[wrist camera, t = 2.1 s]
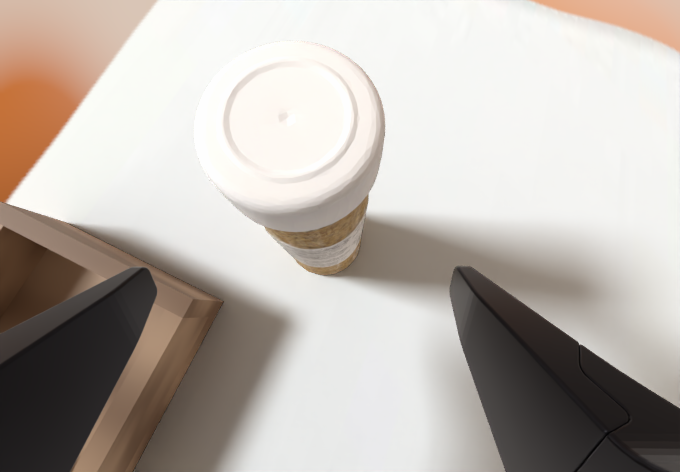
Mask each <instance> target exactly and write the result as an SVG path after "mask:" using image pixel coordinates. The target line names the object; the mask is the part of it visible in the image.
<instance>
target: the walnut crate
mask: <svg viewBox="0 0 680 472" xmlns="http://www.w3.org/2000/svg"><path fill="white" fill-rule="evenodd" d="M131 267H147V268H148V269H149V270H150V272H151V275H152V277H153V280H154V282H155V284H156V287H157V296H156V299H155V301H154V304H153V306H152V309H151V311H150V314H149V317H148V319H147V322H146V324H145V327H144V329H143V332H142V334H141V336H140V339H139V341H138V343H137V345H136V347H135V349H134V351H133V353H132V355H131V357H130V359H129V361H128V363H127V365H126V366H125V368H124V370H123V372H122V374H121V376H120V378H119V380H118V382H117V384H116V386H115V387H114V389H113V391H112V393H111V395H110V397H109V399H108V401H107V403H106V405H105V407H104V408H103V410H102V412H101V414H100V416H99V418H98V420H97V422H96V424H95V426H94V428H93V429H92V431H91V433H90V435H89V437H88V439H87V441H86V443H85V445H84V447H83V449H82V450H81V452H80V454H79V456H78V458H77V460H76V462H75V464H74V466H73V468H72V470H71V471H70V472H133V470H134V468H135V466H136V465H137V463H138V461H139V459H140V457H141V455H142V453H143V451H144V450H145V448H146V446H147V444H148V442H149V440H150V438H151V436H152V435H153V433H154V431H155V429H156V427H157V425H158V423H159V422H160V420H161V418H162V416H163V414H164V412H165V410H166V408H167V407H168V405H169V403H170V401H171V399H172V397H173V395H174V393H175V392H176V390H177V388H178V386H179V384H180V382H181V380H182V379H183V377H184V375H185V373H186V371H187V369H188V367H189V365H190V364H191V362H192V360H193V358H194V356H195V354H196V352H197V351H198V349H199V347H200V345H201V343H202V341H203V339H204V337H205V336H206V334H207V332H208V330H209V328H210V326H211V324H212V322H213V321H214V319H215V317H216V315H217V313H218V311H219V309H220V308H221V306H222V304H223V302H224V301H222V300H220V299H218V298H216V297H214V296H212V295H210V294H208V293H206V292H204V291H202V290H200V289H198V288H196V287H194V286H192V285H190V284H188V283H186V282H184V281H182V280H180V279H178V278H176V277H174V276H172V275H170V274H168V273H166V272H164V271H162V270H160V269H158V268H156V267H154V266H152V265H150V264H148V263H146V262H144V261H142V260H140V259H138V258H136V257H134V256H132V255H130V254H128V253H126V252H124V251H122V250H120V249H118V248H116V247H114V246H112V245H110V244H108V243H106V242H104V241H102V240H100V239H98V238H96V237H94V236H92V235H90V234H88V233H86V232H84V231H82V230H80V229H78V228H76V227H74V226H72V225H70V224H68V223H66V222H63V221H60V220H57V219H54V218H50V217H47V216H44V215H41V214H38V213H35V212H31V211H28V210H25V209H22V208H19V207H16V206H12V205H9V204H6V203H3V202H0V334H1V333H3V332H5V331H7V330H9V329H11V328H13V327H15V326H17V325H18V324H20V323H22V322H24V321H26V320H28V319H30V318H32V317H34V316H36V315H38V314H40V313H42V312H44V311H46V310H48V309H50V308H52V307H54V306H56V305H58V304H60V303H62V302H64V301H66V300H68V299H70V298H71V297H73V296H75V295H77V294H79V293H81V292H83V291H85V290H87V289H89V288H91V287H93V286H95V285H97V284H99V283H101V282H103V281H105V280H107V279H109V278H111V277H113V276H115V275H117V274H119V273H121V272H123V271H124V270H126V269H128V268H131Z"/></svg>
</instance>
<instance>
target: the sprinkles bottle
mask: <svg viewBox="0 0 680 472" xmlns="http://www.w3.org/2000/svg"><path fill="white" fill-rule="evenodd" d="M384 136H385V117H384V111H383V106H382V102H381V99H380V96H379V94H378V92H377V90H376V88H375V86H374V84H373V83H372V81H371V80H370V78H369V77H368V75H367V74H366V73H365V72H364V71H363V69H362V68H361V67H360V66H358V65H357V64H356V63H355V62H353V61H352V60H351V59H350V58H348V57H347V56H345V55H344V54H342V53H340V52H338V51H336V50H334V49H332V48H329V47H326V46H323V45H320V44H316V43H310V42H303V41H283V42H275V43H271V44H267V45H263V46H260V47H257V48H255V49H252V50H250V51H248V52H246V53H244V54H242V55H240V56H239V57H237V58H236V59H234V60H233V61H231V62H230V63H229V64H228V65H226V66H225V67H224V68H223V69H222V70H221V71H220V72H219V73H218V74H217V75H216V76H215V77H214V78H213V80H212V81H211V82H210V84H209V85H208V87H207V88H206V90H205V92H204V94H203V96H202V98H201V100H200V103H199V106H198V109H197V113H196V118H195V126H194V139H195V146H196V151H197V154H198V157H199V160H200V163H201V165H202V167H203V169H204V171H205V173H206V175H207V177H208V178H209V179H210V181H211V182H212V183H213V184H214V186H215V187H216V188H217V189H218V190H219V191H220V192H221V193H222V194H223V195H224V196H225V197H226V198H227V199H228V200H229V201H230V202H231V203H232V204H233V205H234V206H235V207H236V208H237V209H238V210H239V211H240V212H242V213H243V214H244V215H245V216H247V217H248V218H250V219H251V220H253V221H254V222H256V223H258V224H260V225H262V226H264V227H265V229H266V231H267V232H268V233H269V234H270V235H271V236H272V237H273V238H274V239H275V240H276V241H277V242H278V243H279V244H280V245H281V246H282V247H283V248H284V249H285V250H286V251H287V252H288V253H289V254H290V255H291V256H292V257H293V258H294V259H295V260H296V261H297V263H298V264H299V265H300V266H302V267H303V268H304V269H306V270H307V271H309V272H312V273H315V274H319V275H329V274H335V273H338V272H339V271H342V270H344V269H345V268H347V267H348V266H349V265H350V264H351V263H352V262H353V261H354V259H355V258H356V256H357V254H358V251H359V248H360V243H361V235H362V230H363V225H364V220H365V215H366V210H367V205H368V193H369V191H370V190H371V188H372V186H373V184H374V182H375V179H376V177H377V174H378V170H379V166H380V161H381V156H382V151H383V144H384Z"/></svg>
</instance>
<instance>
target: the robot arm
mask: <svg viewBox="0 0 680 472" xmlns="http://www.w3.org/2000/svg"><path fill="white" fill-rule="evenodd" d="M156 296H157V287H156V284H155V282H154V280H153V277H152V275H151V272H150V270H149V269H148V268H147V267H131V268H128V269H126V270H124V271H123V272H121V273H119V274H117V275H115V276H113V277H111V278H109V279H107V280H105V281H103V282H101V283H99V284H97V285H95V286H93V287H91V288H89V289H87V290H85V291H83V292H81V293H79V294H77V295H75V296H73V297H71V298H70V299H68V300H66V301H64V302H62V303H60V304H58V305H56V306H54V307H52V308H50V309H48V310H46V311H44V312H42V313H40V314H38V315H36V316H34V317H32V318H30V319H28V320H26V321H24V322H22V323H20V324H18V325H17V326H15V327H13V328H11V329H9V330H7V331H5V332H3V333H1V334H0V472H70V471H71V470H72V468H73V466H74V464H75V462H76V460H77V458H78V456H79V454H80V452H81V450H82V449H83V447H84V445H85V443H86V441H87V439H88V437H89V435H90V433H91V431H92V429H93V428H94V426H95V424H96V422H97V420H98V418H99V416H100V414H101V412H102V410H103V408H104V407H105V405H106V403H107V401H108V399H109V397H110V395H111V393H112V391H113V389H114V387H115V386H116V384H117V382H118V380H119V378H120V376H121V374H122V372H123V370H124V368H125V366H126V365H127V363H128V361H129V359H130V357H131V355H132V353H133V351H134V349H135V347H136V345H137V343H138V341H139V339H140V336H141V334H142V332H143V329H144V327H145V324H146V322H147V319H148V317H149V314H150V311H151V309H152V306H153V304H154V301H155V299H156ZM450 298H451V302H452V307H453V311H454V316H455V320H456V325H457V329H458V334H459V338H460V342H461V345H462V348H463V351H464V354H465V357H466V360H467V363H468V366H469V368H470V371H471V374H472V377H473V380H474V383H475V386H476V388H477V391H478V394H479V397H480V400H481V403H482V405H483V408H484V411H485V414H486V417H487V420H488V423H489V425H490V428H491V431H492V434H493V437H494V440H495V442H496V445H497V448H498V451H499V454H500V457H501V460H502V462H503V465H504V468H505V471H506V472H680V408H678V407H677V406H675V405H673V404H672V403H670V402H668V401H667V400H665V399H664V398H662V397H660V396H659V395H657V394H656V393H654V392H652V391H651V390H649V389H647V388H646V387H644V386H643V385H641V384H640V383H638V382H636V381H635V380H633V379H632V378H630V377H629V376H627V375H626V374H624V373H622V372H621V371H619V370H618V369H616V368H615V367H613V366H612V365H610V364H609V363H608V362H606V361H605V360H603V359H602V358H600V357H599V356H597V355H596V354H594V353H593V352H592V351H590V350H589V349H587V348H586V347H584V346H583V345H579V343H578V342H577V341H576V340H574V339H573V338H572V337H570V336H569V335H567V334H566V333H564V332H563V331H562V330H560V329H559V328H557V327H556V326H554V325H553V324H552V323H550V322H549V321H547V320H546V319H545V318H543V317H542V316H540V315H539V314H537V313H536V312H535V311H533V310H532V309H530V308H529V307H527V306H526V305H525V304H523V303H522V302H520V301H519V300H518V299H516V298H515V297H513V296H512V295H510V294H509V293H508V292H506V291H505V290H503V289H502V288H500V287H499V286H498V285H496V284H495V283H493V282H492V281H491V280H489V279H488V278H486V277H485V276H483V275H482V274H481V273H479V272H478V271H476V270H475V269H474V268H472V267H470V266H457V267H455V269H454V271H453V276H452V280H451V285H450Z"/></svg>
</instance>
